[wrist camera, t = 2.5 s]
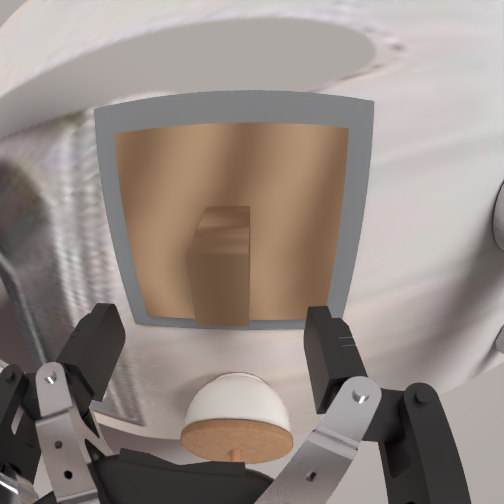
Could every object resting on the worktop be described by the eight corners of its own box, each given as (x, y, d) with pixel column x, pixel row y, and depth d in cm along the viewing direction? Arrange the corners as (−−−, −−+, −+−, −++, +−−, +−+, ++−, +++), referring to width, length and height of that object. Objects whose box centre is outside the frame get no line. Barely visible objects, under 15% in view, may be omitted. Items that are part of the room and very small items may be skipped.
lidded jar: (231, 417, 32) (228, 480, 23) (171, 377, 28) (154, 451, 19) (305, 392, 29) (314, 464, 20) (250, 344, 25) (248, 436, 16)
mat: (370, 101, 15) (374, 101, 14) (338, 322, 23) (339, 327, 23) (98, 108, 15) (94, 109, 14) (137, 319, 23) (135, 323, 23)
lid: (343, 127, 15) (396, 140, 9) (321, 310, 22) (340, 379, 16) (121, 132, 15) (55, 151, 9) (150, 308, 22) (124, 373, 16)
